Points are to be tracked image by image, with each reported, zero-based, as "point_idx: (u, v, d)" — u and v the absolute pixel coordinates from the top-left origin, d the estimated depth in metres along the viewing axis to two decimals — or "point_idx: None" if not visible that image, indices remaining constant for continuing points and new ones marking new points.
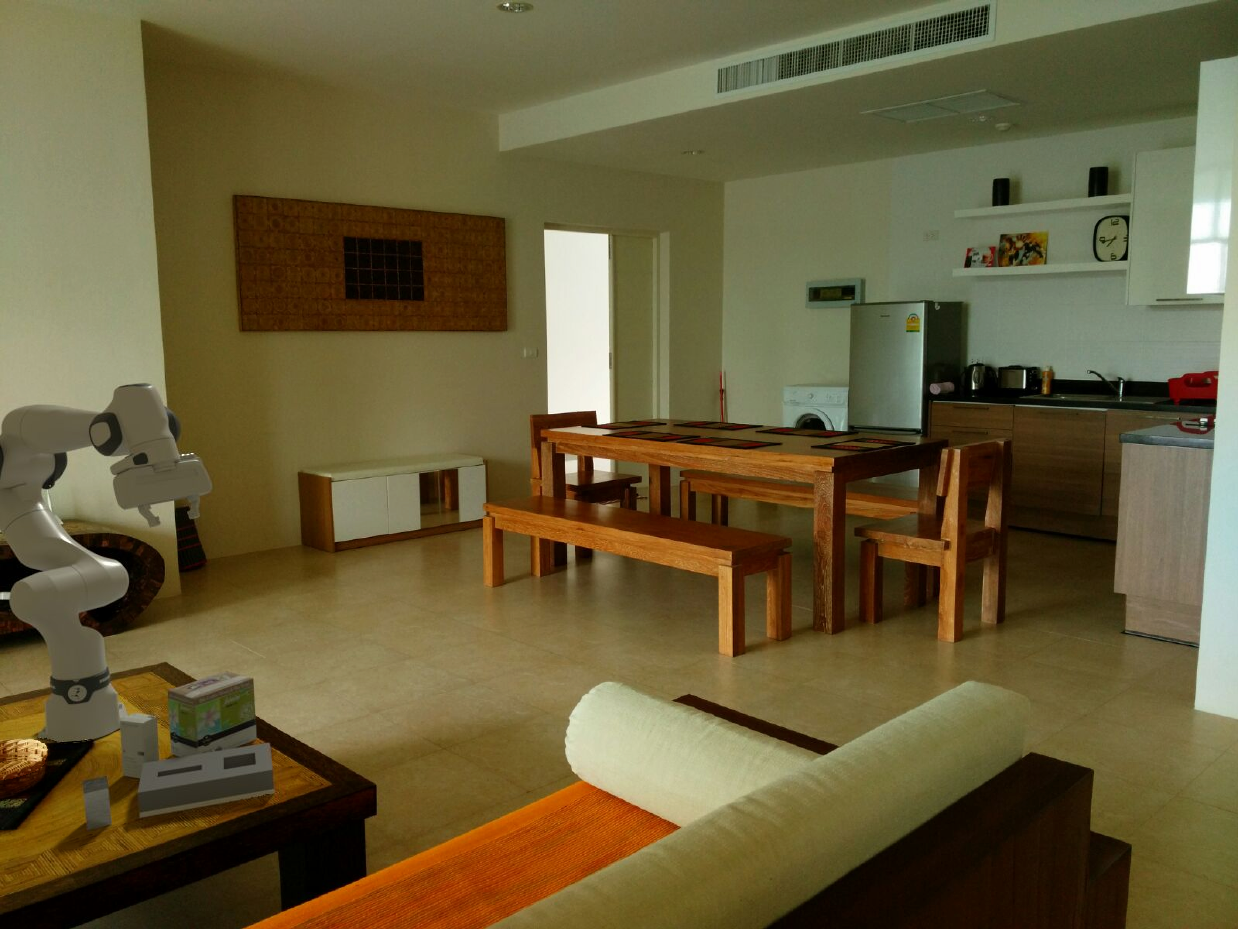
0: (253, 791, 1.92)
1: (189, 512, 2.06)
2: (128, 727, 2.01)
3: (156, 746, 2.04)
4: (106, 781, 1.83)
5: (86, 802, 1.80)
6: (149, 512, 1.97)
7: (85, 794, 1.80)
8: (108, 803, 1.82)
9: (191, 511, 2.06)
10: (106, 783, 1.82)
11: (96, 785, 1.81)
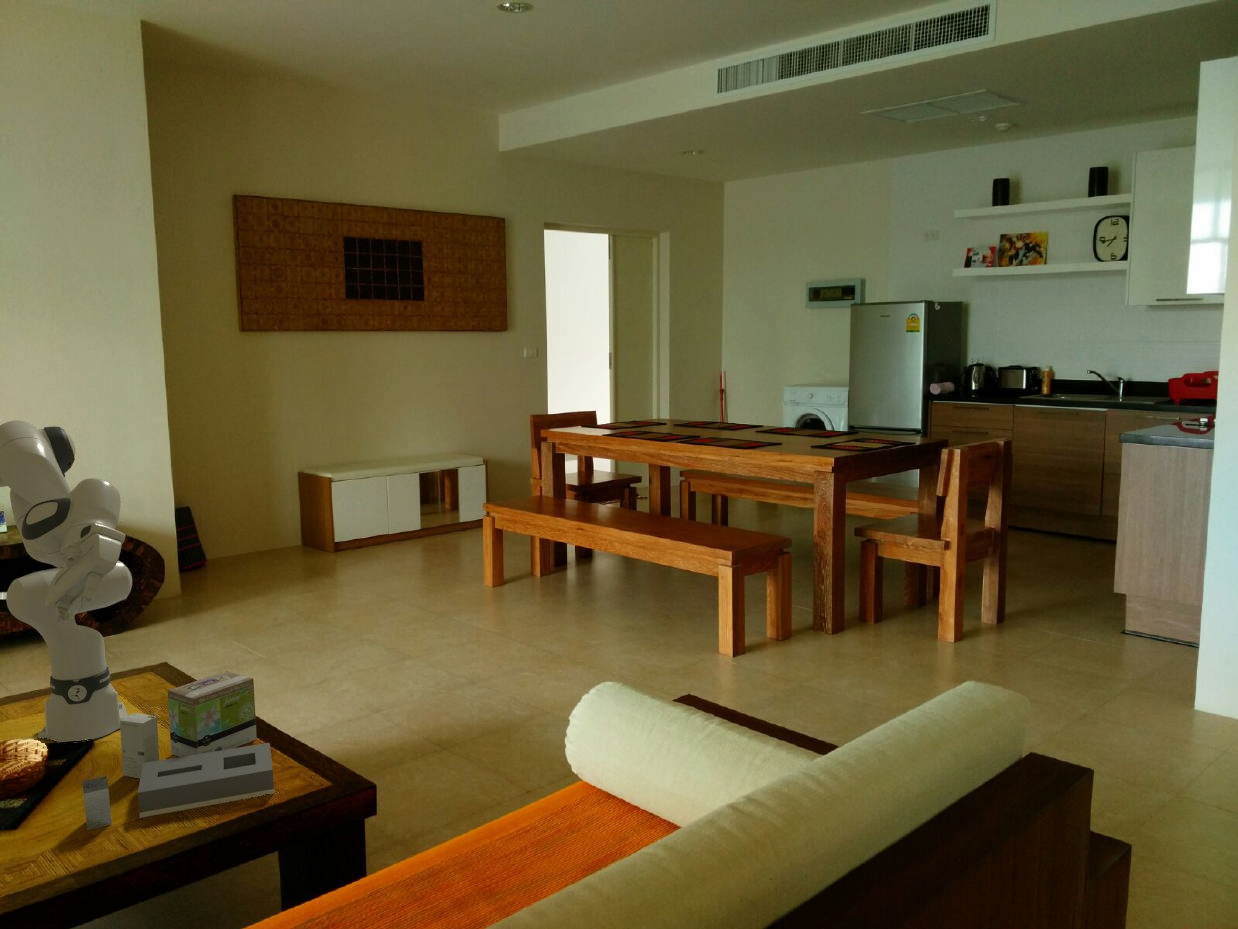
0: (253, 791, 1.92)
1: (63, 613, 1.85)
2: (128, 727, 2.01)
3: (156, 746, 2.04)
4: (106, 781, 1.83)
5: (86, 802, 1.80)
6: None
7: (85, 794, 1.80)
8: (108, 803, 1.82)
9: (67, 614, 1.85)
10: (106, 783, 1.82)
11: (96, 785, 1.81)
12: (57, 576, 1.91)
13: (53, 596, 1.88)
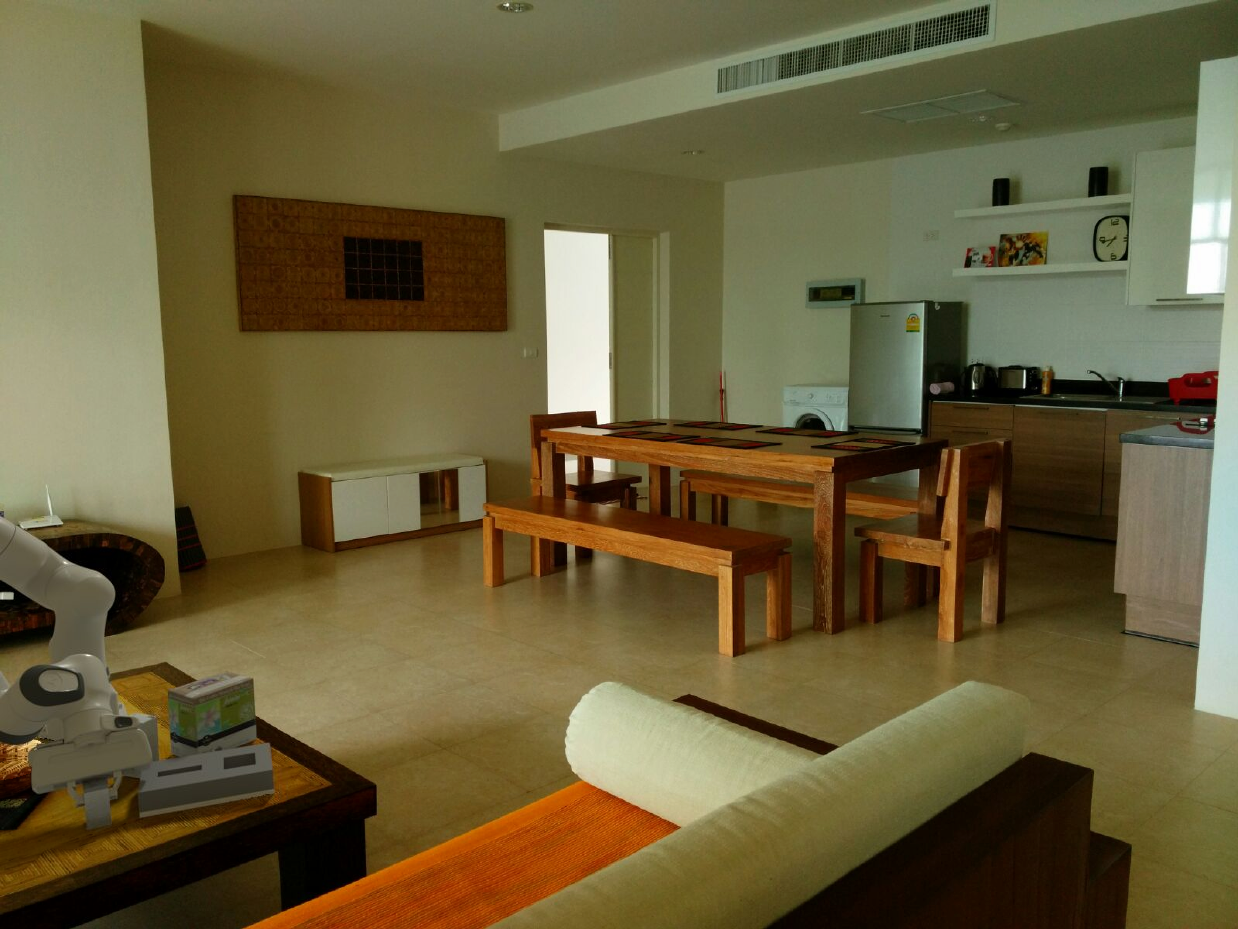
0: (253, 791, 1.92)
1: None
2: None
3: (156, 746, 2.04)
4: (106, 781, 1.83)
5: (86, 802, 1.80)
6: None
7: (85, 794, 1.80)
8: (108, 803, 1.82)
9: None
10: (106, 783, 1.82)
11: (96, 785, 1.81)
12: (51, 753, 1.83)
13: (53, 777, 1.81)
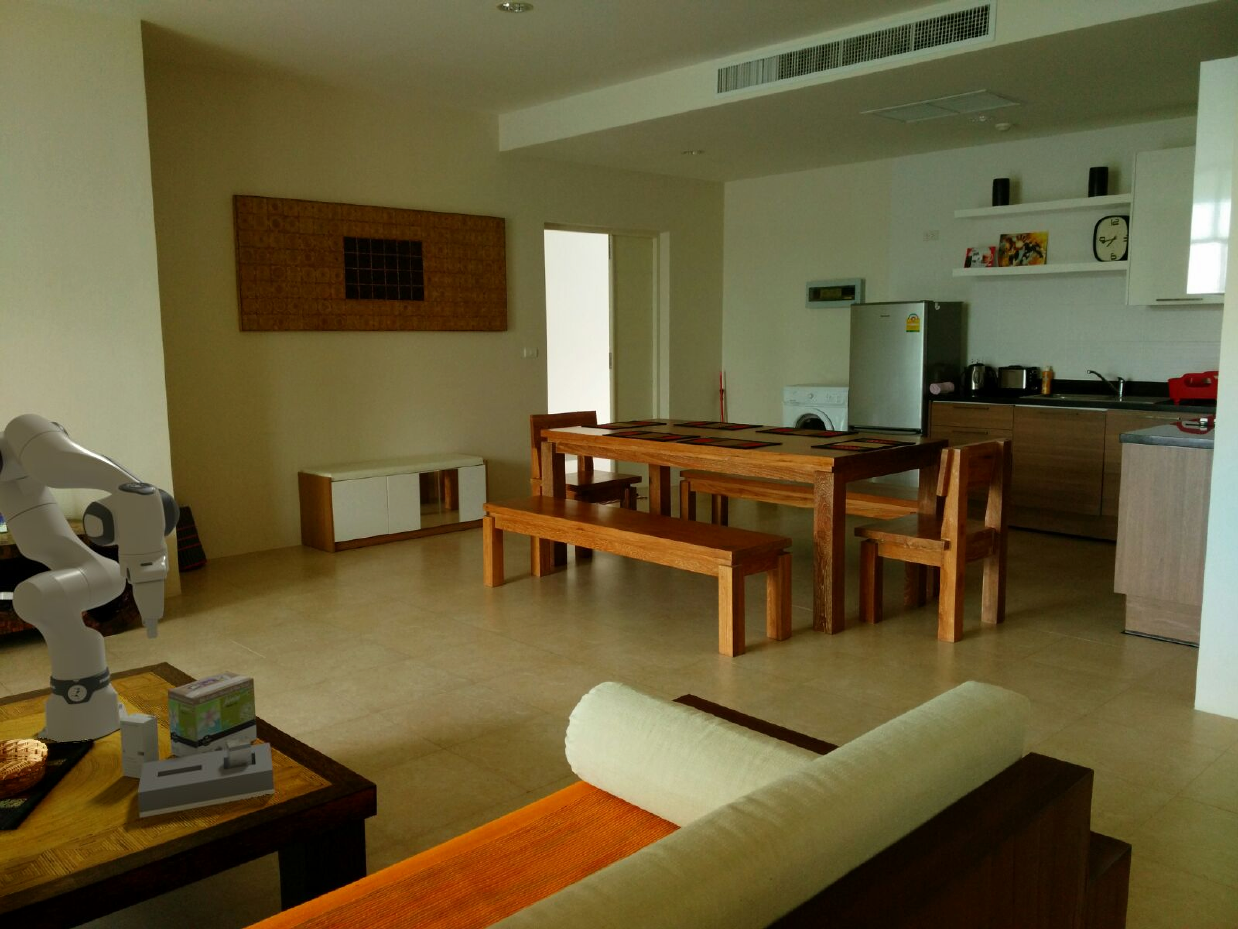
0: (253, 791, 1.92)
1: None
2: (128, 727, 2.01)
3: (156, 746, 2.04)
4: (248, 741, 1.97)
5: (231, 760, 1.95)
6: None
7: (231, 752, 1.95)
8: (250, 761, 1.97)
9: None
10: (249, 742, 1.97)
11: (240, 744, 1.96)
12: None
13: (134, 597, 2.02)
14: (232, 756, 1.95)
